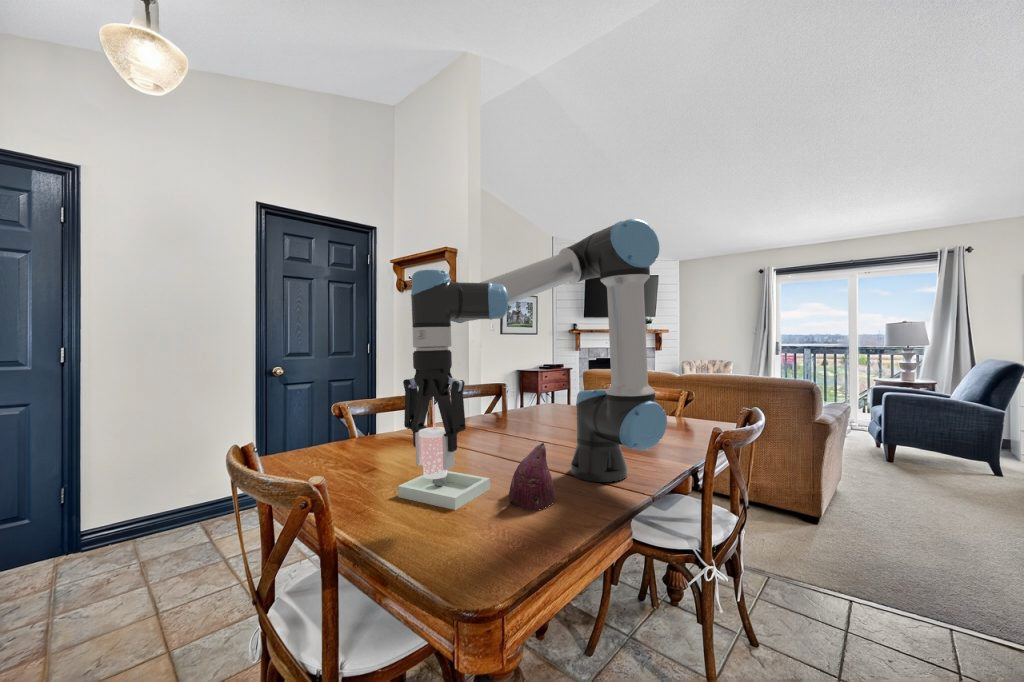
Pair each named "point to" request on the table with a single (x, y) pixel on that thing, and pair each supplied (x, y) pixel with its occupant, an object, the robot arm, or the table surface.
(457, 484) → the tray
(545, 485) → the vegetable
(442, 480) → the ball
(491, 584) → the table surface
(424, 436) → the beverage cup
